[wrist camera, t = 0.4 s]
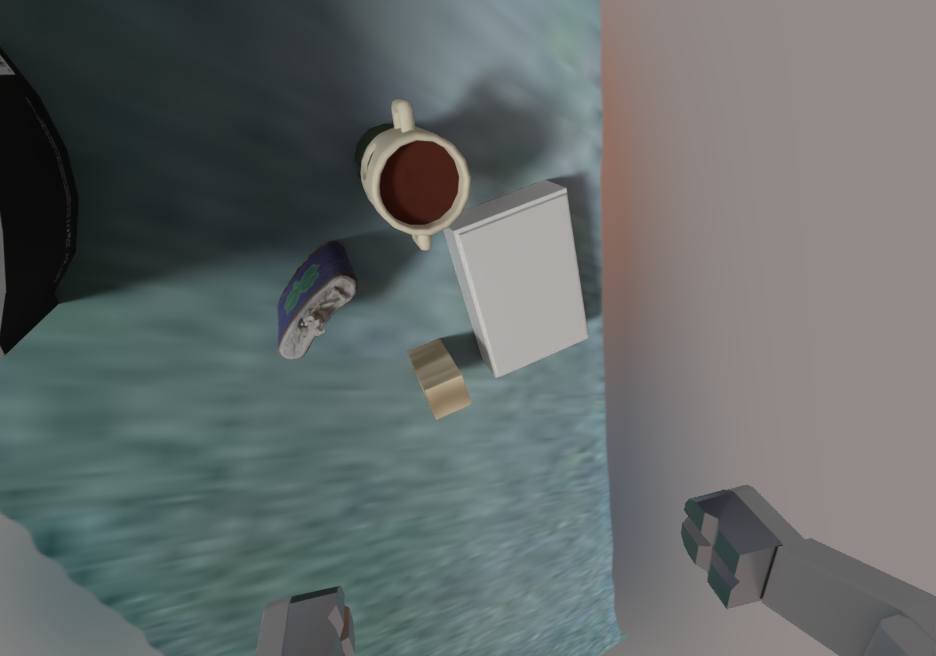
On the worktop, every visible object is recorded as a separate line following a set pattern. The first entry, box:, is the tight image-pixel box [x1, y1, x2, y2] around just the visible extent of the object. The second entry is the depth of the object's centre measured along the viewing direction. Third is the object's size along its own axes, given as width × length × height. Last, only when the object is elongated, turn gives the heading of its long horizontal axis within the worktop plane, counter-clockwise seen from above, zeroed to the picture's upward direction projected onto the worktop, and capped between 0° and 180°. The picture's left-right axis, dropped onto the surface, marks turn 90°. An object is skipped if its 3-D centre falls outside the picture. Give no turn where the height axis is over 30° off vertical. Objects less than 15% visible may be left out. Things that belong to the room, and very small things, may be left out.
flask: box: [278, 241, 358, 360], centre depth 42 cm, size 9×3×11 cm, turn 136°
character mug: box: [354, 98, 471, 251], centre depth 39 cm, size 11×7×13 cm, turn 6°
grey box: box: [443, 180, 588, 378], centre depth 52 cm, size 18×12×5 cm, turn 16°
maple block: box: [407, 338, 472, 420], centre depth 52 cm, size 4×4×8 cm
